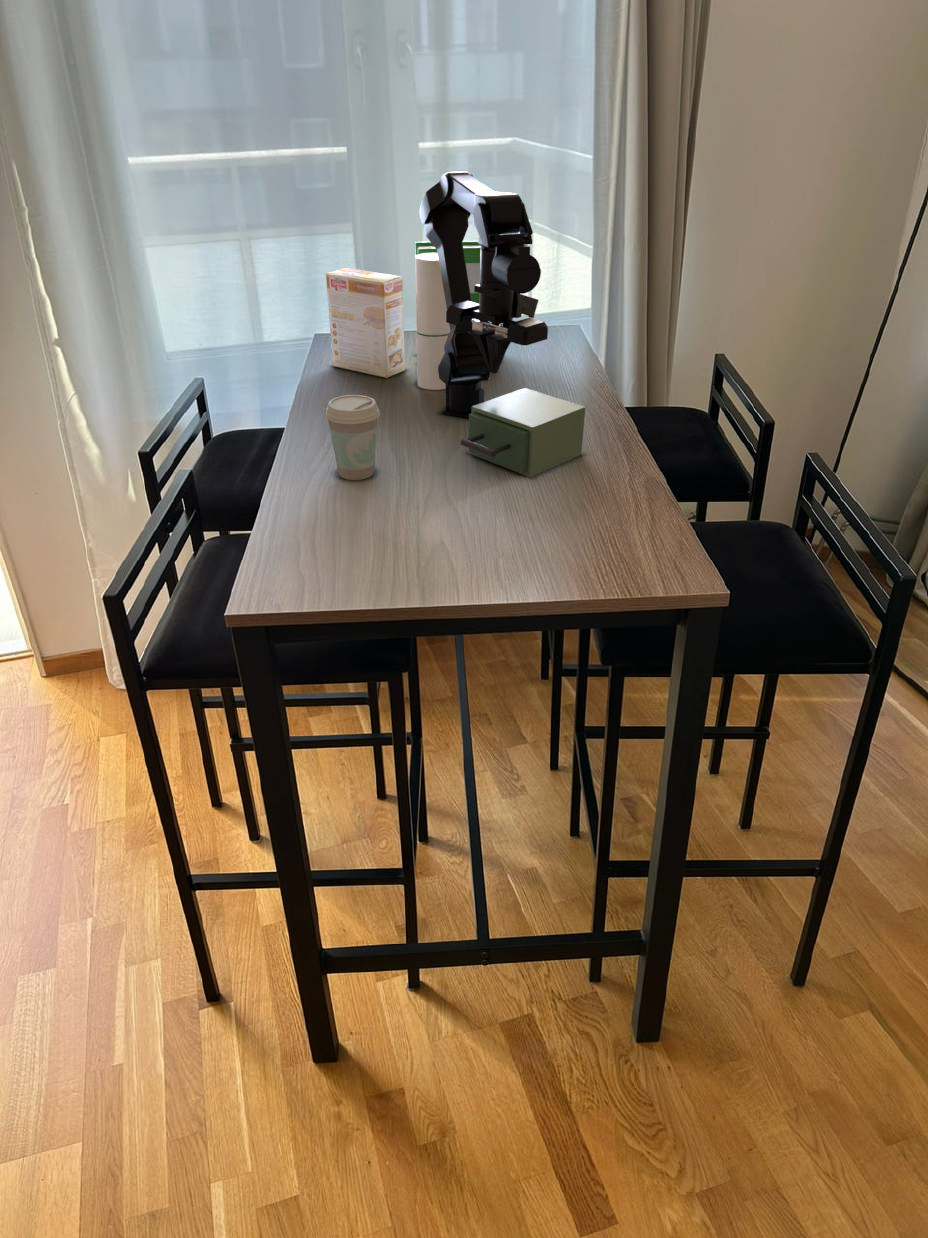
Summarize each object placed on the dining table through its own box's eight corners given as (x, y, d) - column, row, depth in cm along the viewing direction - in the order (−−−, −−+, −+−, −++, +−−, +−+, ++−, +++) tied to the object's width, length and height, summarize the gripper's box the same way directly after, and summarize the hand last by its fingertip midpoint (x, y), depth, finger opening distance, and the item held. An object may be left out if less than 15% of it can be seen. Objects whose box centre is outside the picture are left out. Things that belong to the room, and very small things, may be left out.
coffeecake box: (406, 370, 192) (403, 275, 181) (386, 378, 187) (382, 282, 176) (351, 358, 199) (346, 266, 188) (331, 366, 194) (324, 272, 183)
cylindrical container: (456, 380, 186) (457, 254, 173) (445, 391, 181) (444, 261, 167) (425, 376, 188) (423, 251, 174) (412, 387, 182) (409, 258, 169)
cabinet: (530, 477, 146) (533, 427, 141) (470, 454, 154) (471, 406, 149) (581, 454, 154) (585, 406, 149) (522, 433, 162) (524, 387, 157)
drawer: (503, 482, 142) (504, 441, 138) (448, 459, 149) (448, 421, 145) (570, 452, 152) (574, 414, 149) (516, 433, 160) (518, 396, 156)
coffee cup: (341, 487, 142) (336, 415, 135) (322, 468, 148) (317, 398, 141) (390, 477, 145) (387, 406, 138) (370, 459, 151) (366, 390, 145)
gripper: (573, 281, 144) (565, 375, 153) (490, 261, 155) (487, 350, 164) (527, 292, 138) (522, 390, 146) (444, 271, 149) (443, 363, 157)
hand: (493, 372), depth 154 cm, fingers closed
